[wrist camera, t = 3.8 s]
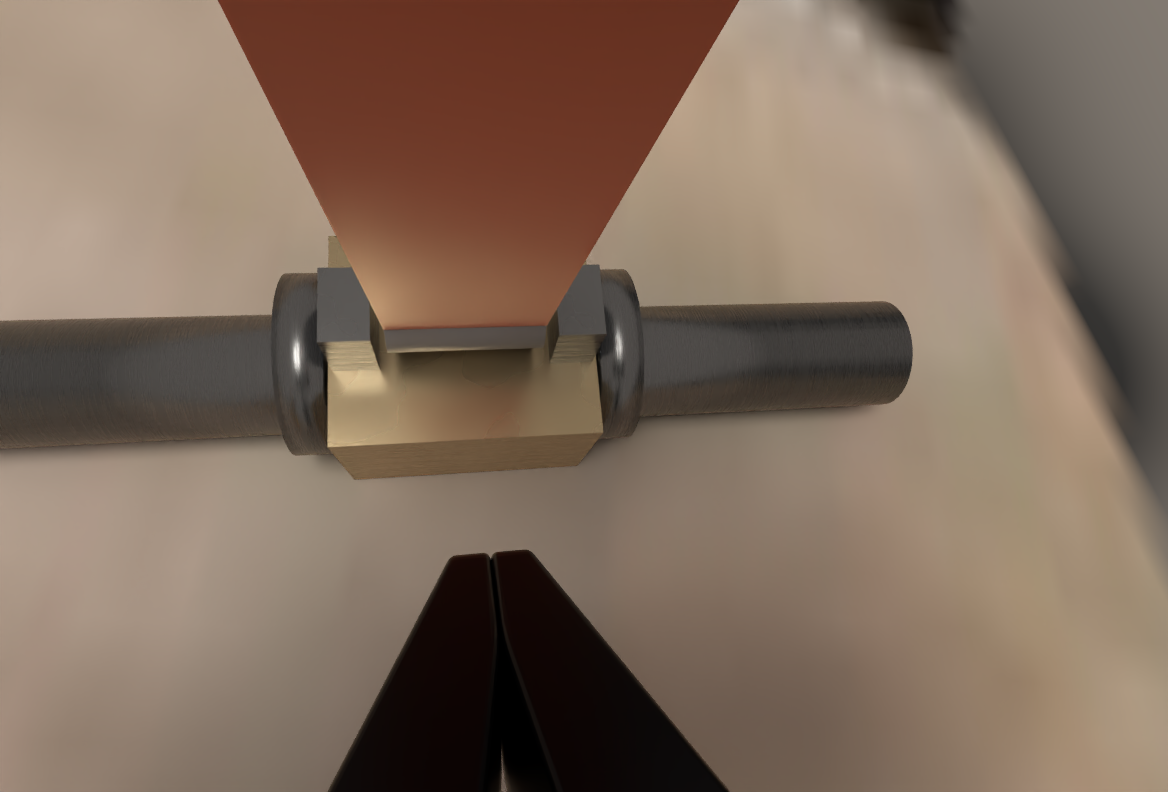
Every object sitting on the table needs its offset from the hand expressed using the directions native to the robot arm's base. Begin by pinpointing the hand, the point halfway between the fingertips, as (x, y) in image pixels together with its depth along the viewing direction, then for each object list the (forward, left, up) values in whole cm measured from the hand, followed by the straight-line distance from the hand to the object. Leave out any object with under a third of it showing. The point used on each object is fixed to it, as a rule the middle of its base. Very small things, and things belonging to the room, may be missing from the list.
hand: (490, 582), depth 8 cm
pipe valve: (+2, +5, -12) cm, 13 cm away
